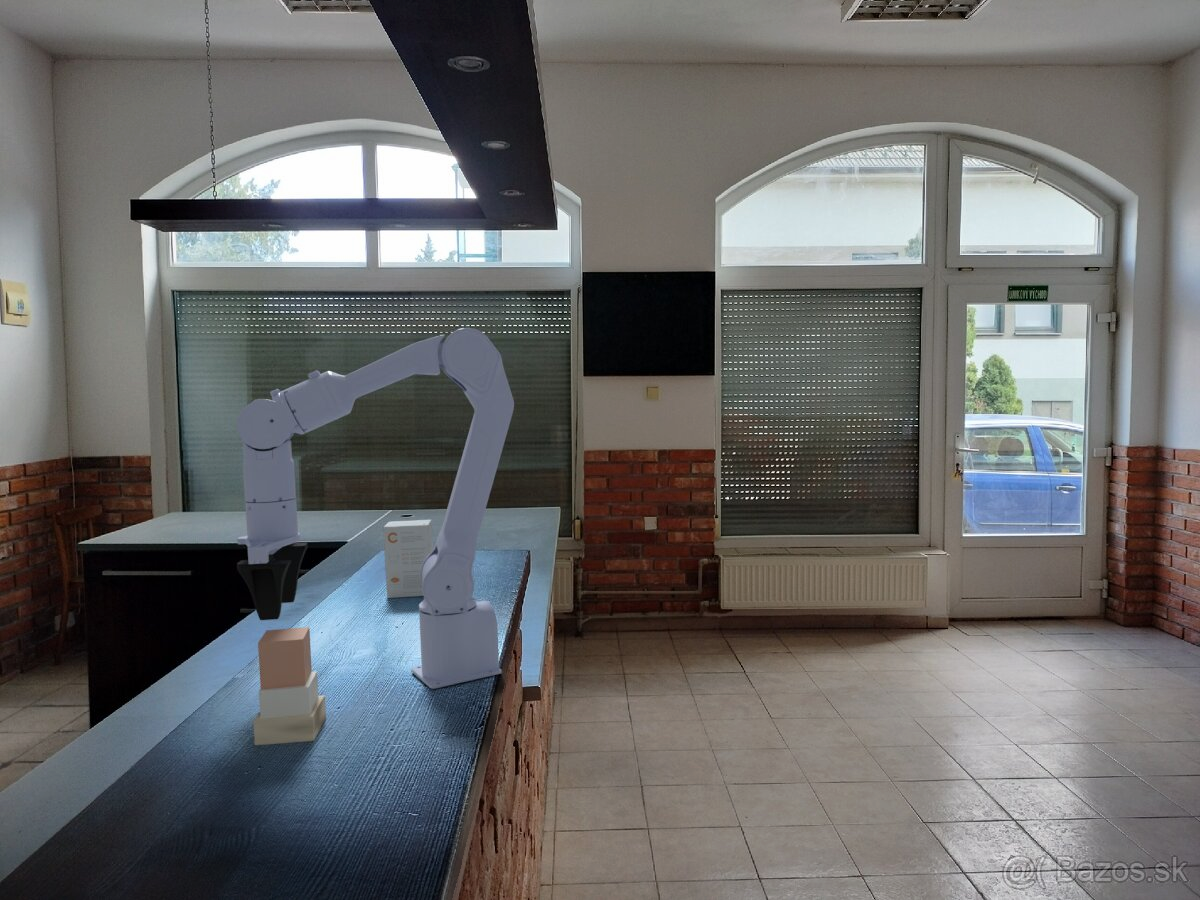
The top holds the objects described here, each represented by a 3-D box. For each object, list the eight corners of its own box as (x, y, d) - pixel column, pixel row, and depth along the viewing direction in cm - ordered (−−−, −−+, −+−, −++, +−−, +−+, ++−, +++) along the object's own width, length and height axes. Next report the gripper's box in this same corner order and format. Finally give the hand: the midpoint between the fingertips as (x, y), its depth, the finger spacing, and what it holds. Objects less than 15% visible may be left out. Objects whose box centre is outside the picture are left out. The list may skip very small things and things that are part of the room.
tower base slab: (271, 725, 91) (269, 699, 91) (326, 721, 92) (324, 695, 91) (254, 748, 85) (253, 720, 85) (314, 744, 86) (312, 716, 85)
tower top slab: (271, 701, 90) (270, 674, 90) (318, 697, 91) (317, 671, 90) (260, 719, 85) (258, 691, 85) (310, 714, 86) (308, 687, 86)
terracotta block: (269, 674, 90) (266, 630, 89) (311, 670, 91) (309, 627, 90) (260, 689, 85) (258, 642, 85) (305, 685, 86) (303, 639, 86)
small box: (436, 587, 151) (432, 518, 150) (432, 596, 145) (429, 524, 144) (391, 590, 150) (388, 520, 149) (386, 598, 144) (382, 526, 143)
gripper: (252, 493, 104) (259, 597, 105) (216, 510, 90) (224, 629, 91) (309, 491, 105) (315, 593, 106) (282, 506, 91) (289, 625, 92)
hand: (277, 610), depth 99 cm, fingers open, 7 cm apart
